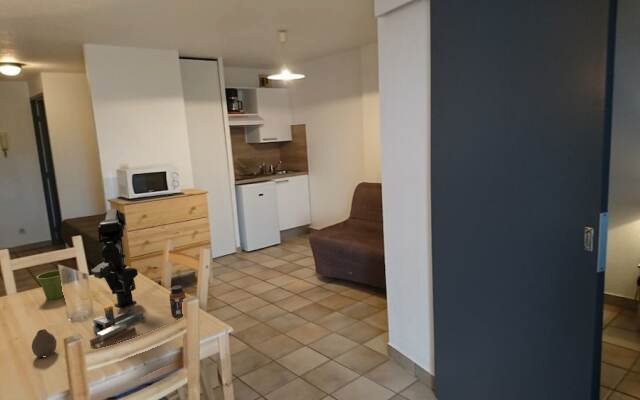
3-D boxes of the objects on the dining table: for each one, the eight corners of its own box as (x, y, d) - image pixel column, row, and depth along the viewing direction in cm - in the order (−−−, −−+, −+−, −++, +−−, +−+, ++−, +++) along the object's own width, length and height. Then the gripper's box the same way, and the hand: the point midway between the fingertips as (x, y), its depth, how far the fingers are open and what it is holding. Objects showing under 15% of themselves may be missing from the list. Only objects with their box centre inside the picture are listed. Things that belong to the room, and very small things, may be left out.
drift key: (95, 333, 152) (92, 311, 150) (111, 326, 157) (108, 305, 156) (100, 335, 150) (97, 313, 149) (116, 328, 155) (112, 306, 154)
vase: (41, 350, 142) (36, 326, 141) (62, 348, 143) (57, 325, 141) (29, 361, 135) (24, 336, 134) (51, 359, 136) (46, 334, 134)
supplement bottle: (182, 317, 162) (179, 290, 160) (168, 316, 163) (165, 289, 161) (189, 310, 167) (186, 284, 166) (176, 310, 169) (173, 284, 167)
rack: (90, 345, 143) (89, 339, 143) (124, 329, 154) (123, 323, 154) (102, 350, 140) (101, 344, 139) (136, 333, 150) (135, 327, 150)
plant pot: (75, 294, 192) (71, 271, 191) (48, 304, 183) (44, 280, 181) (62, 290, 199) (59, 268, 197) (35, 299, 189) (31, 276, 187)
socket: (93, 331, 154) (91, 319, 153) (132, 314, 167) (130, 303, 166) (105, 336, 150) (103, 323, 149) (144, 318, 163) (142, 306, 162)
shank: (98, 342, 144) (97, 333, 143) (122, 331, 151) (120, 322, 151) (103, 344, 142) (102, 335, 141) (127, 332, 150) (126, 323, 149)
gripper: (79, 256, 155) (85, 295, 158) (107, 262, 145) (114, 304, 148) (107, 248, 164) (112, 285, 167) (136, 253, 155) (141, 292, 157)
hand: (119, 291), depth 160 cm, fingers open, 9 cm apart
